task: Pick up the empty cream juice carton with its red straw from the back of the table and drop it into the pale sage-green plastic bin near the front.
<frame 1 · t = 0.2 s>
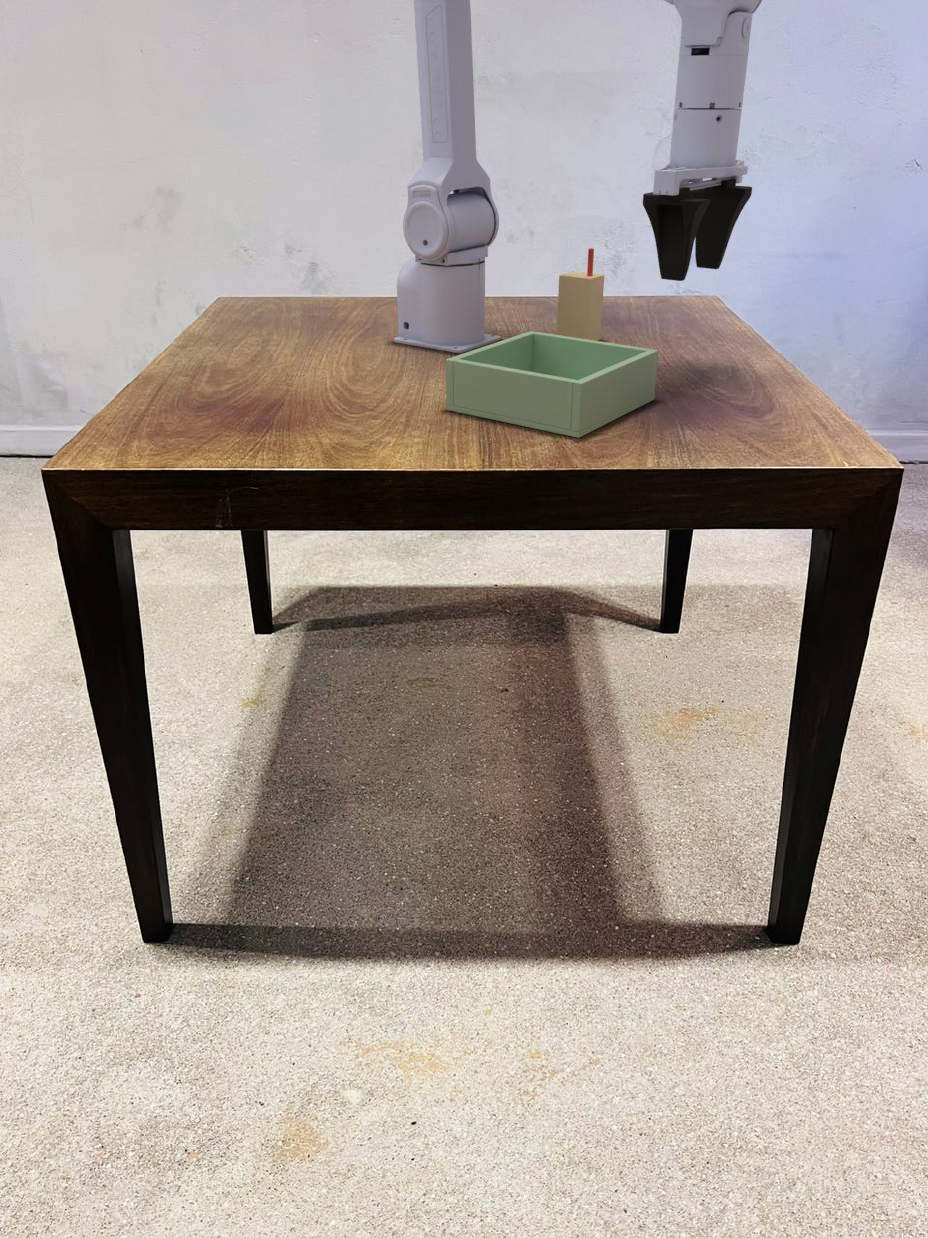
hand: (690, 273, 91), 10 cm above the table, tool pointing down, fingers open, 7 cm apart
juice box: (578, 339, 111), on the table
bin: (551, 404, 88), on the table
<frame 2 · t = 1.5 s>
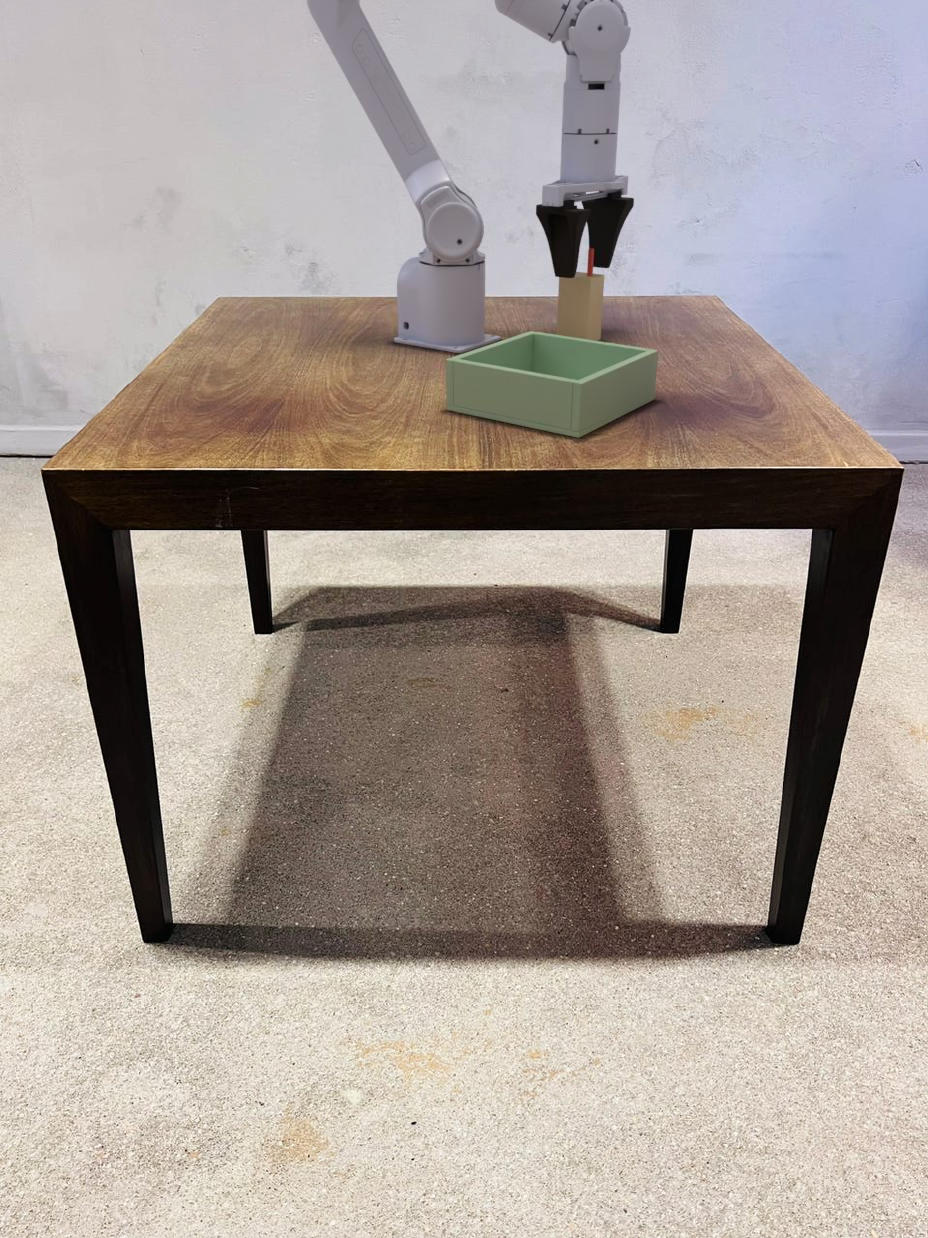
hand: (582, 271, 107), 7 cm above the table, tool pointing down, fingers open, 7 cm apart
nothing on the table moved.
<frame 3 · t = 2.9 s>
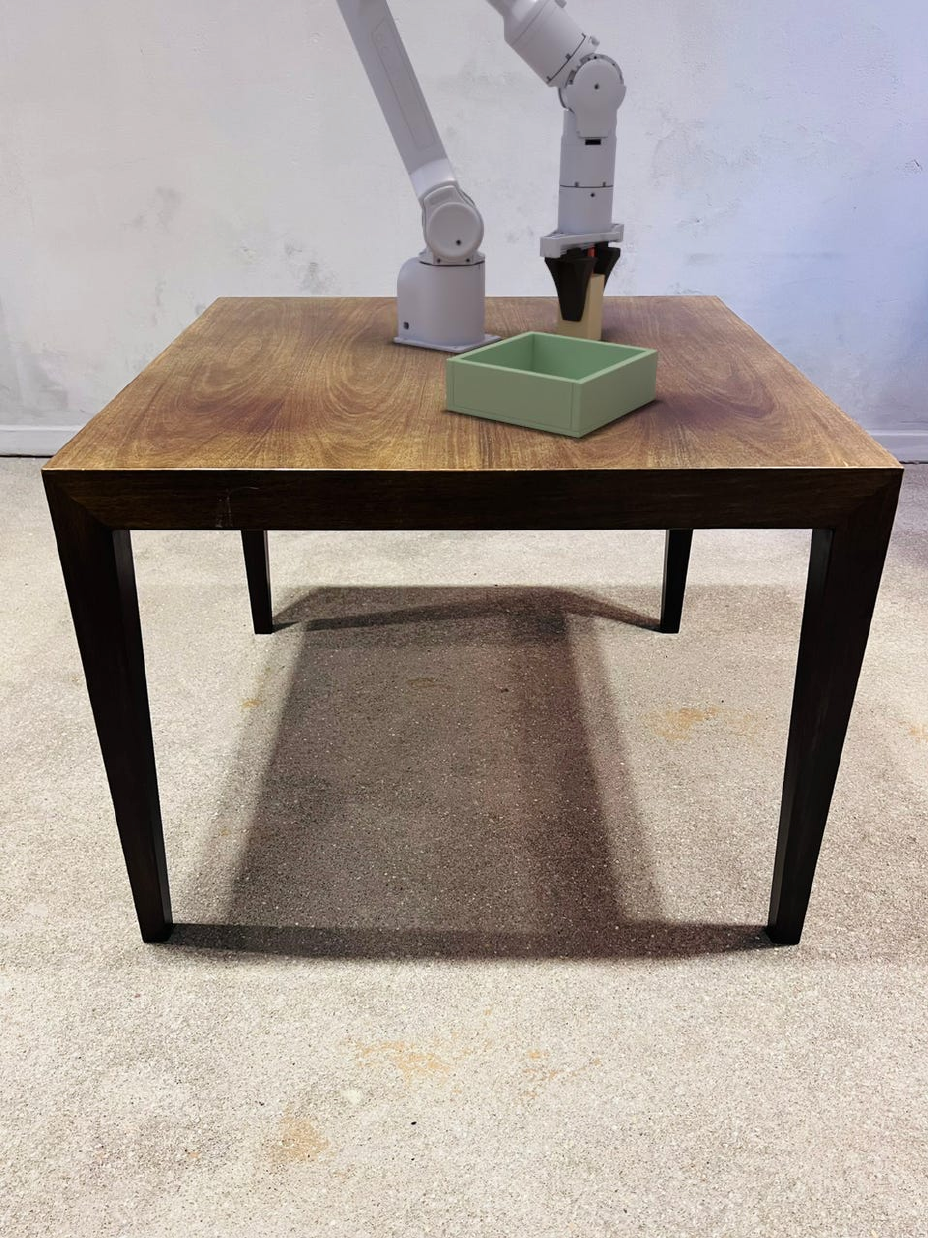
hand: (579, 317, 110), 2 cm above the table, tool pointing down, fingers closed on juice box, 3 cm apart
juice box: (578, 339, 111), on the table, touching gripper
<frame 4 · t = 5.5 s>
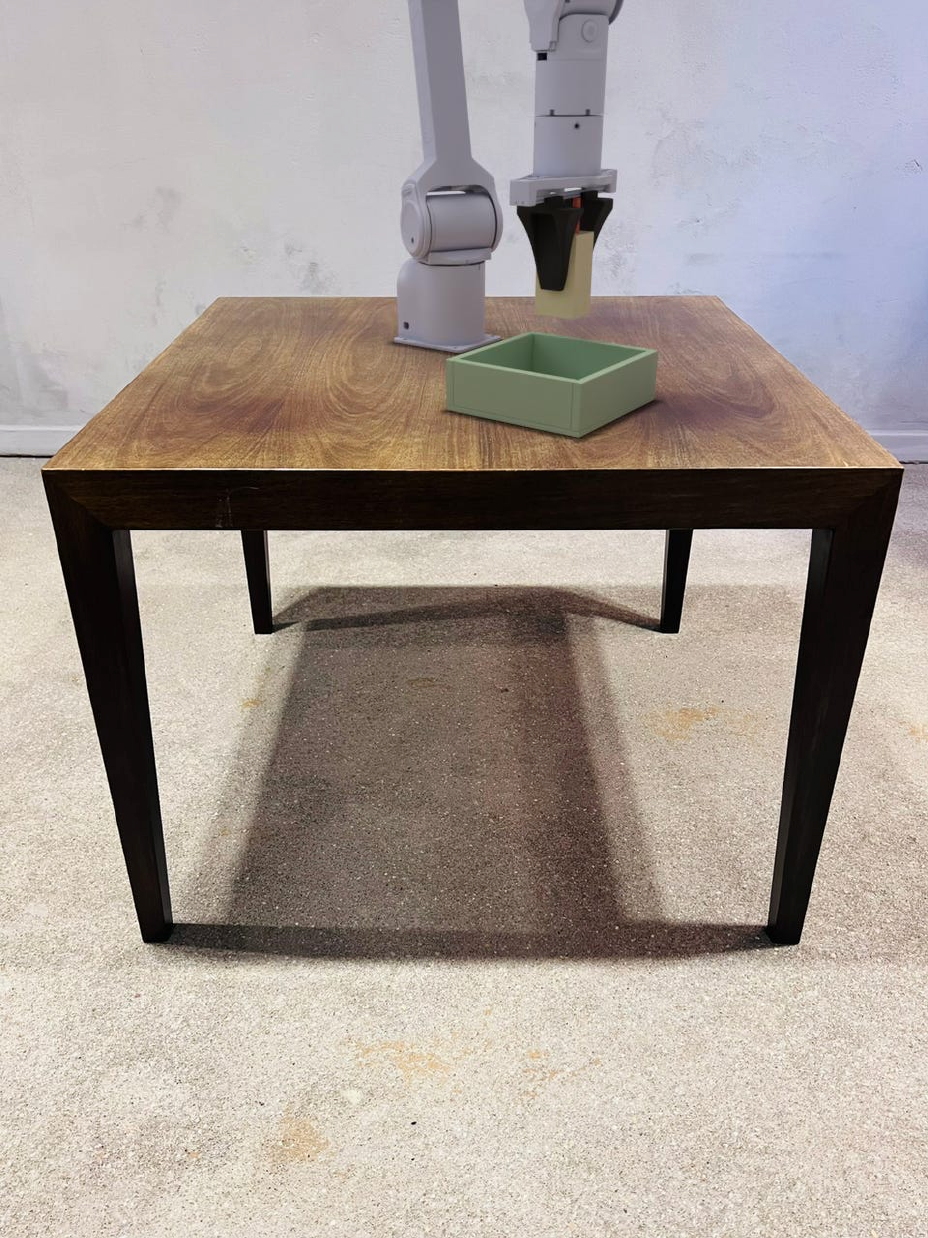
hand: (562, 286, 87), 9 cm above the table, tool pointing down, fingers closed on juice box, 3 cm apart
juice box: (562, 314, 89), point 7 cm above the table, touching gripper
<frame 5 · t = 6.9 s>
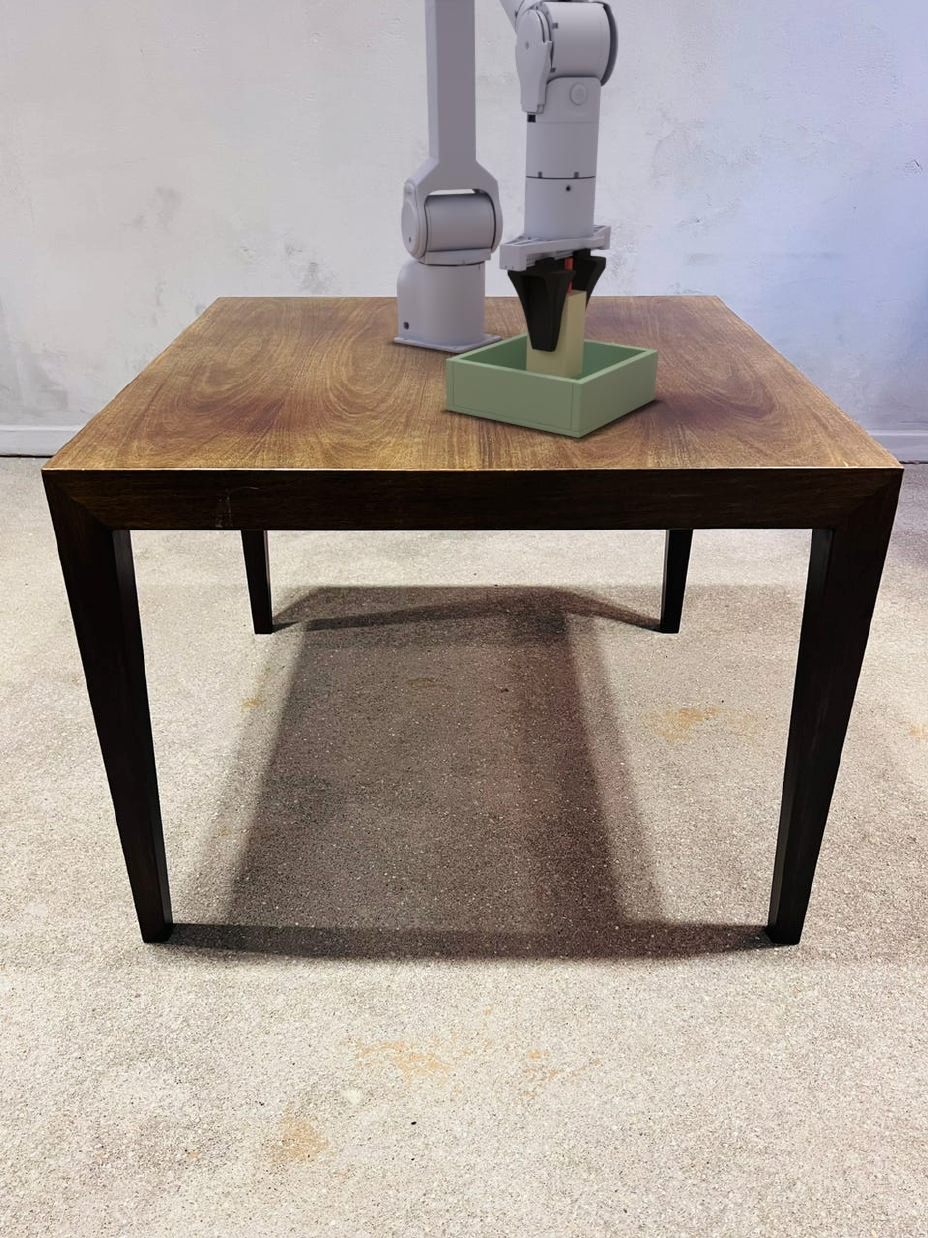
hand: (554, 346, 86), 5 cm above the table, tool pointing down, fingers closed on juice box, 3 cm apart
juice box: (554, 373, 87), point 3 cm above the table, touching gripper
when the fingers open (3 cm above the table, at t = 8.0 s): juice box stays where it is, resting on bin.
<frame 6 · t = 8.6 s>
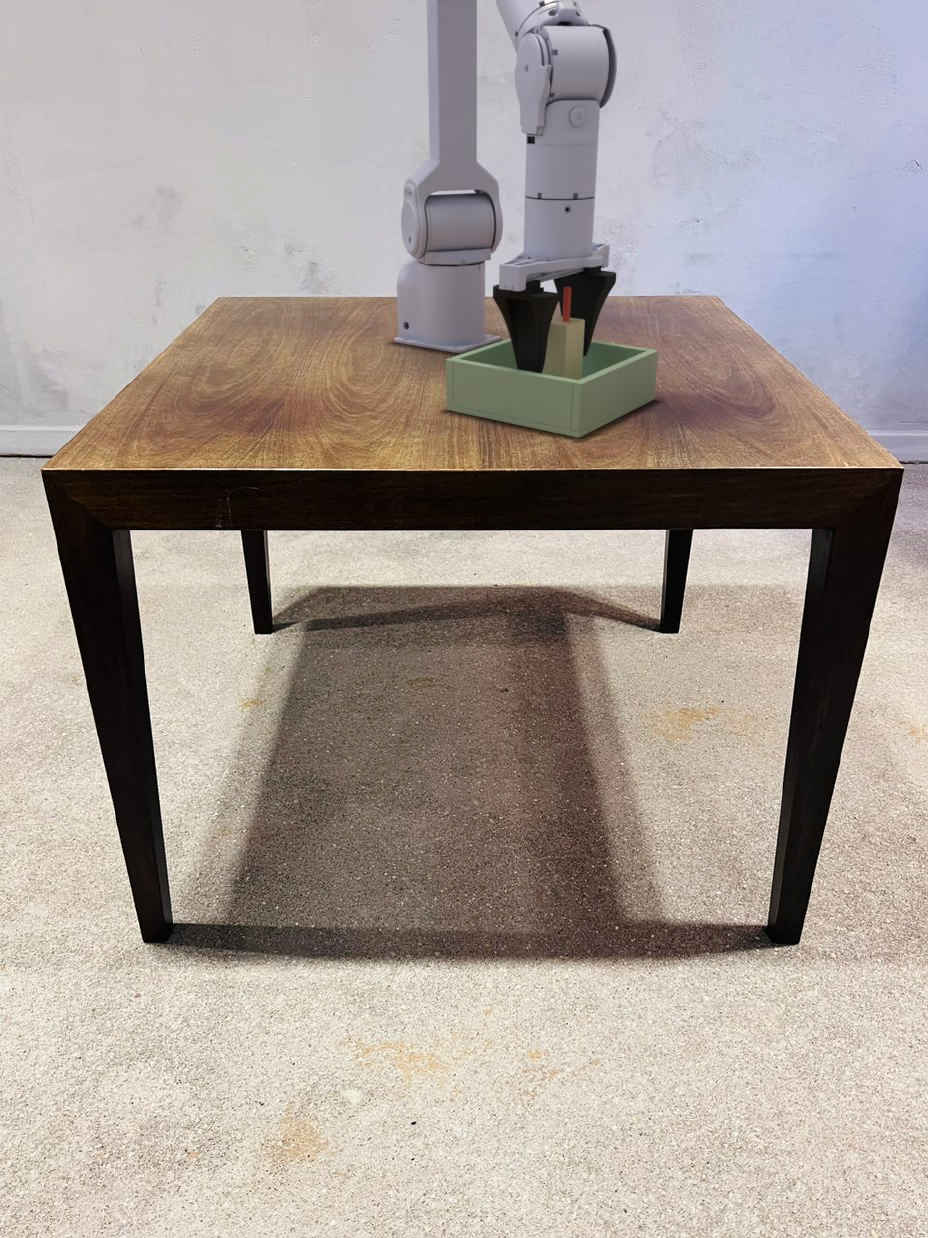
hand: (553, 363, 87), 4 cm above the table, tool pointing down, fingers open, 7 cm apart
juice box: (553, 399, 88), resting on bin
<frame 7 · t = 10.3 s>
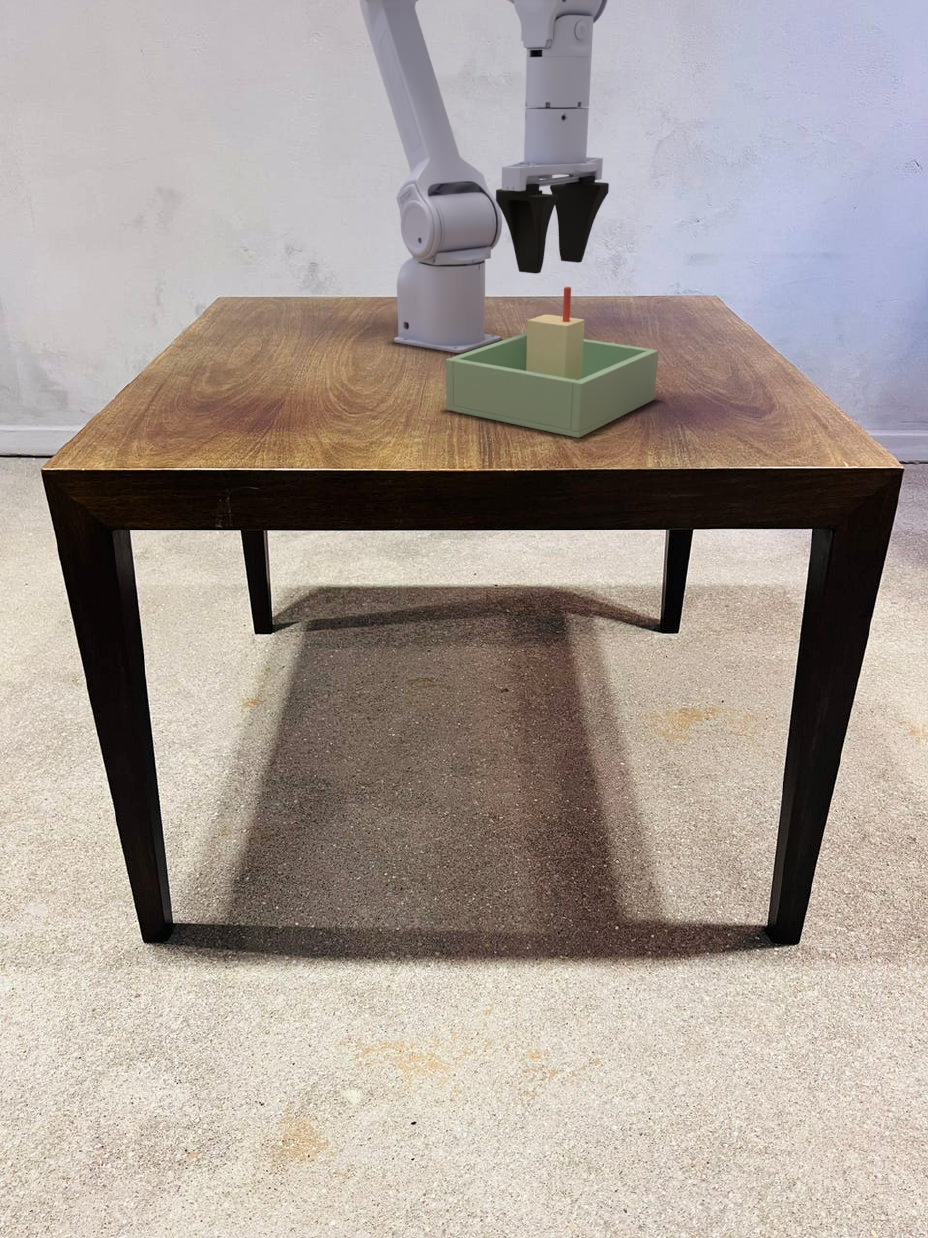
hand: (551, 266, 95), 10 cm above the table, tool pointing down, fingers open, 7 cm apart
nothing on the table moved.
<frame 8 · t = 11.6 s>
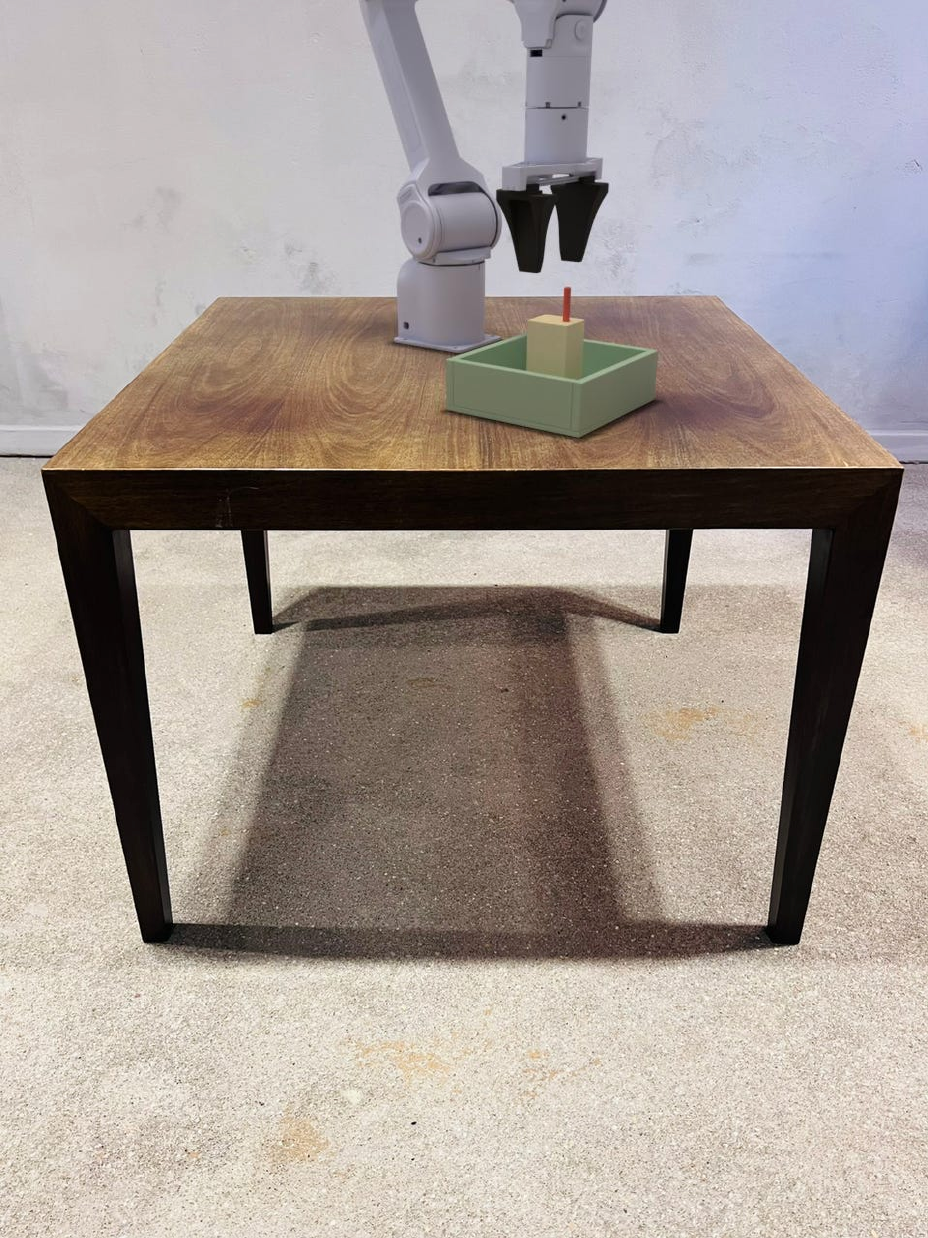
hand: (551, 266, 95), 10 cm above the table, tool pointing down, fingers open, 7 cm apart
nothing on the table moved.
at the end: juice box inside the target area in the bin (0.1 cm from its centre), point 0.5 cm above the bin's base; the gripper is holding nothing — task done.
